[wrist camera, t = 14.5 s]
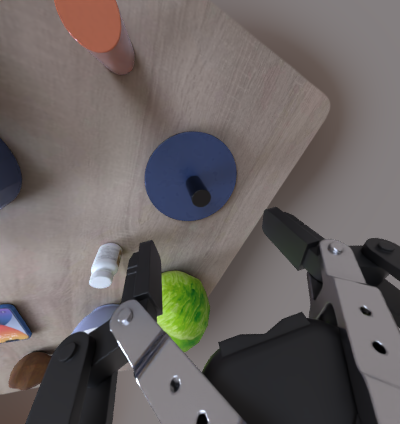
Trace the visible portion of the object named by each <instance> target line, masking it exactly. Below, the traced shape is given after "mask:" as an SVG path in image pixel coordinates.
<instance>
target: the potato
mask: <svg viewBox="0 0 400 424" xmlns="http://www.w3.org/2000/svg"><path fill="white" fill-rule="evenodd" d="M51 357H52V356H50V355H48V354H46V353H43V352H32V353H30V354H28V355H26V356H24V357H23V358H22V359H21V360H20V361H19V362H18V363H17V364H16V365H15V366H14V368H13V370H12V372H11V375H10V379H9V387H10V388H15V389H20V390H28V389H30V388H32V387H34V386H36V385H38V384H40V383H41V382H42V379H43V377H44V374H45V372H46V369H47V366H48V364H49V361H50V359H51Z"/></svg>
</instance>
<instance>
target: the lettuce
mask: <svg viewBox="0 0 400 424" xmlns="http://www.w3.org/2000/svg"><path fill="white" fill-rule="evenodd" d="M161 274H162V305H163V315H160V316H157V323H158V325H159V326H160V327H161V328H162V329H163V330H164V331H165V332H166V333H167V334H168V335H169V336H170V337H171V338H172V339H173V341H174V342H175V343H176V344H177V345H178V346H179V347H180V349H181V350H182V351H183V352H186V351H188V350H189V349H190V348H192V347H193V346H195V345H196V344H197V343H198V342H199V341H200V339H201V337H202V336H203V334H204V332H205V330H206V327H207V326H208V319H209V312H210V305H209V302H208V298H207V294H206V291H205V289H204V287H203V285H202V283H201V281H200V280H199V279H197V278H195V277H193V276H190V275H188V274H186V273H184V272H180V271H167V272H164V273H161Z"/></svg>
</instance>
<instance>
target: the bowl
mask: <svg viewBox="0 0 400 424" xmlns="http://www.w3.org/2000/svg"><path fill="white" fill-rule="evenodd" d="M118 306H119V305H118V304H107V305H103V306H100V307H98V308H96V309H95V310H94V311H93V312H92V313H91V314H89V315H88V316H86V317H85V318H84V319H83V320H82V321H81V322H80V323H79V324H78V326H77V327H76V328H75V329H74V331H73V333H75V332H79V331H83V332H86V333H87V334H89V333H90V332H92V331H93V330H95V329H96V328H98V327H99V326H101V325H102V324H104V323H105V322H107V321H108V320H109V319H111V316H112V314H113V312H114V311H115V310H116V308H117V307H118ZM73 333H72V334H73Z"/></svg>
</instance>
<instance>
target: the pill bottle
mask: <svg viewBox="0 0 400 424" xmlns="http://www.w3.org/2000/svg"><path fill="white" fill-rule="evenodd" d="M121 254H122V248H121V247H120V246H119V245H117V244H114V243H107V244H104V245H102V246H101V247H100V248H99V251H98V253H97V256H96V258H95V260H94V263H93V265H92V268H91V272H92V275H91V278H90V281H89V284H90V285H91V286H92V287H94V288H106V287H108V286H110V285H111V283H112V280H113V276H114V275H115V274H116V273H117V271H118V267H119V263H120V259H121Z"/></svg>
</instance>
